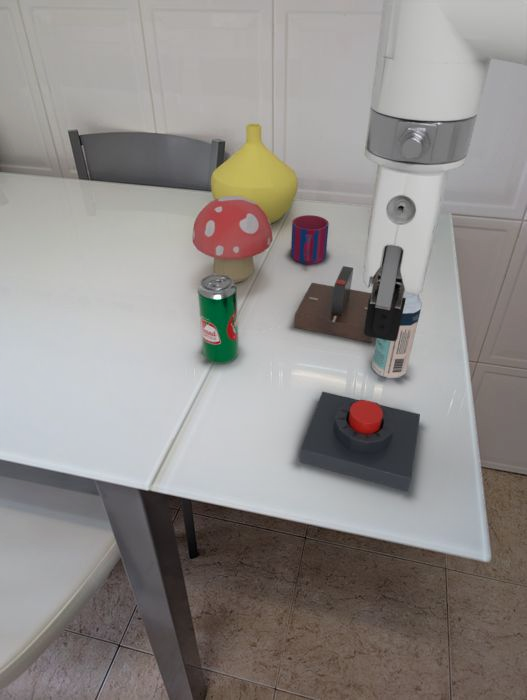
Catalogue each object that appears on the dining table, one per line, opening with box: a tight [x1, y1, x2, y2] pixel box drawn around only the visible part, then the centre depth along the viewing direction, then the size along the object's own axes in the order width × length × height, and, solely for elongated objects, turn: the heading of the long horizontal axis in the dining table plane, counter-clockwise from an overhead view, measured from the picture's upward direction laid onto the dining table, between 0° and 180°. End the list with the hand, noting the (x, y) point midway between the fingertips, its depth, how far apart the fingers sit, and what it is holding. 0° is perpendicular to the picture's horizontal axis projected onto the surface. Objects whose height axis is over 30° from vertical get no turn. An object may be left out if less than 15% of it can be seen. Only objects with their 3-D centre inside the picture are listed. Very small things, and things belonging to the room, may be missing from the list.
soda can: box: [197, 273, 240, 365], centre depth 68 cm, size 5×5×12 cm
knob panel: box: [293, 282, 374, 344], centre depth 78 cm, size 12×10×3 cm
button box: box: [299, 391, 421, 492], centre depth 57 cm, size 12×10×4 cm
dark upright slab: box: [331, 265, 354, 315], centre depth 76 cm, size 6×2×5 cm, turn 161°
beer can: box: [371, 291, 423, 379], centre depth 65 cm, size 5×5×12 cm
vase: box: [210, 123, 299, 225], centre depth 103 cm, size 18×18×19 cm
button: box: [348, 399, 383, 434], centre depth 55 cm, size 4×4×2 cm
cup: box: [290, 214, 330, 265], centre depth 92 cm, size 7×10×7 cm
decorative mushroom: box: [192, 196, 274, 284], centre depth 83 cm, size 13×13×15 cm
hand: (380, 333), depth 48 cm, fingers closed
